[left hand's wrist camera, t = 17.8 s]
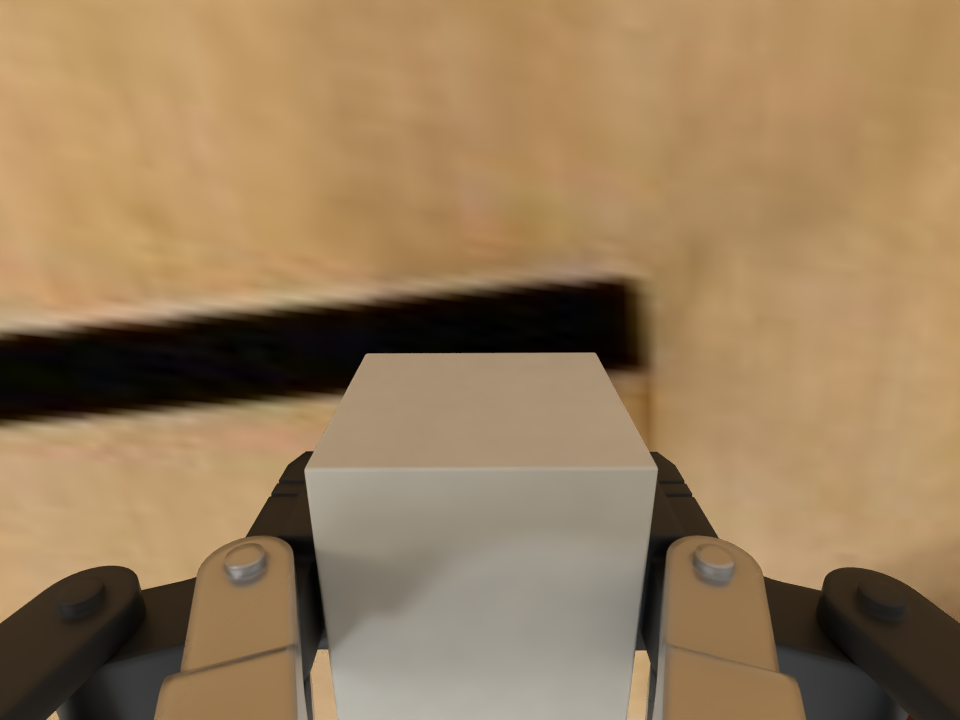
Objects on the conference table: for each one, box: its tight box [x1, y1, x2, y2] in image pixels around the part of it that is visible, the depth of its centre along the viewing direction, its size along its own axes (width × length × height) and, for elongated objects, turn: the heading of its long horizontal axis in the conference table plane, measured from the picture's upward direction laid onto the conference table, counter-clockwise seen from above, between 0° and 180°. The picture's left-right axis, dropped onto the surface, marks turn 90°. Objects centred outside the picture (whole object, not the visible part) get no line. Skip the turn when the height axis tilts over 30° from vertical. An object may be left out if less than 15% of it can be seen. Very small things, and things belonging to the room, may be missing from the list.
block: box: [304, 353, 658, 720], centre depth 10 cm, size 5×5×4 cm
